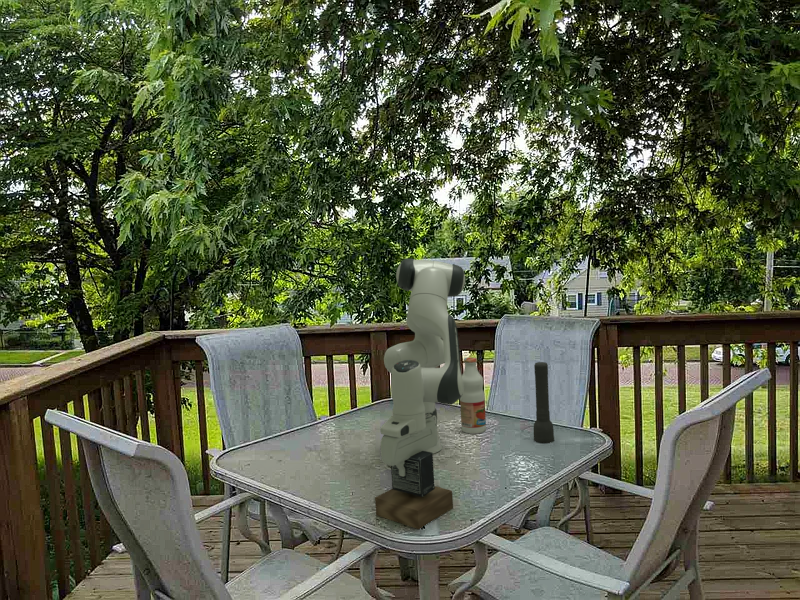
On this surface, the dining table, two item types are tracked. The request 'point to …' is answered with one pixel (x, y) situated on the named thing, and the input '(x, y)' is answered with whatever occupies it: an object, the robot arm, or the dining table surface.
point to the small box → (415, 475)
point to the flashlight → (542, 406)
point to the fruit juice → (472, 399)
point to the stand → (414, 506)
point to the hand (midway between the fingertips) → (412, 470)
